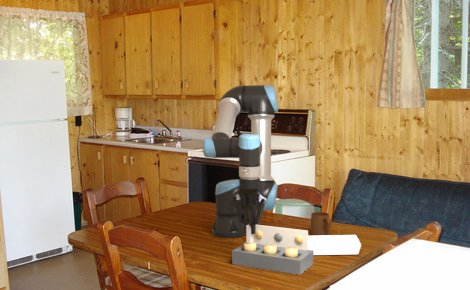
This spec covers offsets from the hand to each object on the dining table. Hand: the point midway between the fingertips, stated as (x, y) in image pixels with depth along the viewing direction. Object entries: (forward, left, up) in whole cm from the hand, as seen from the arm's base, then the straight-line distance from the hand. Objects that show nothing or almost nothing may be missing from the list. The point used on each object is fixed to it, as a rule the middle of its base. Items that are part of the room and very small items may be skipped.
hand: (250, 242), depth 194 cm
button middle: (+8, 0, -4) cm, 9 cm away
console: (+8, +2, -8) cm, 11 cm away
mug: (+12, +45, -8) cm, 47 cm away
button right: (+16, 0, -4) cm, 16 cm away
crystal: (+22, +24, -8) cm, 34 cm away
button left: (0, 0, -4) cm, 4 cm away
